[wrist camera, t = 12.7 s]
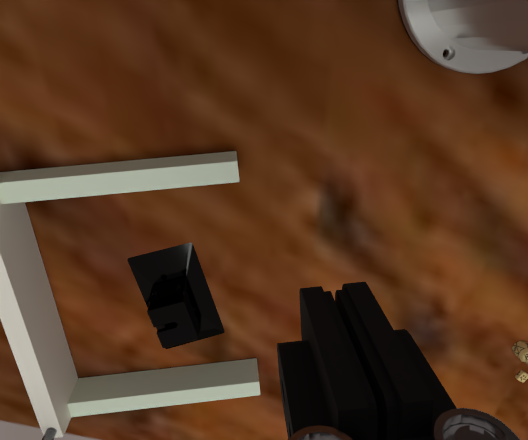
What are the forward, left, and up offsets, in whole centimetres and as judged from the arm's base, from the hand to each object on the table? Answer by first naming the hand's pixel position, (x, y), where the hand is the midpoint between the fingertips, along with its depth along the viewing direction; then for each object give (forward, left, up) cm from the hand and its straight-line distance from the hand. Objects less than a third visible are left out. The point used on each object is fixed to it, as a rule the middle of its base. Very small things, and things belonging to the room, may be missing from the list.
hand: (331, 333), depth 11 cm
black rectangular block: (+8, +13, -24) cm, 28 cm away
